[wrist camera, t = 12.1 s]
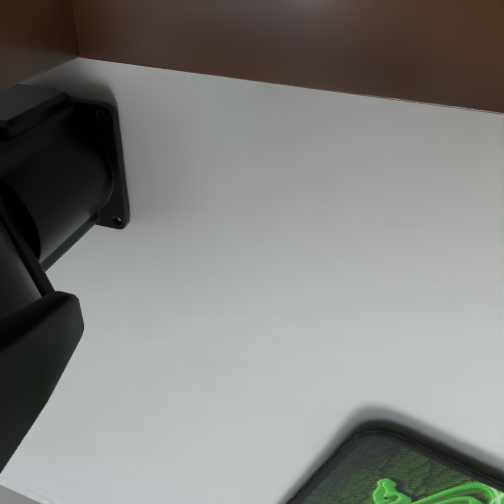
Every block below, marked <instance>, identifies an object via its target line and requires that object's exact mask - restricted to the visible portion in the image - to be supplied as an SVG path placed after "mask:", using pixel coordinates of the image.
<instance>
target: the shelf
mask: <svg viewBox="0 0 504 504" xmlns="http://www.w3.org/2000/svg"><path fill="white" fill-rule="evenodd" d="M78 57H81V58H87V59H95V60H102V61H110V62H117V63H124V64H132V65H139V66H147V67H154V68H162V69H169V70H176V71H184V72H191V73H199V74H206V75H214V76H221V77H228V78H236V79H243V80H251V81H258V82H266V83H273V84H281V85H288V86H295V87H303V88H310V89H318V90H325V91H333V92H340V93H347V94H355V95H362V96H370V97H377V98H385V99H392V100H399V101H407V102H414V103H422V104H429V105H437V106H444V107H451V108H459V109H466V110H474V111H481V112H489V113H496V114H503V115H504V0H0V91H1V90H3V89H6V88H8V87H10V86H13V85H15V84H17V83H20V82H22V81H24V80H27V79H29V78H31V77H34V76H36V75H38V74H41V73H43V72H45V71H48V70H50V69H52V68H55V67H57V66H59V65H62V64H64V63H66V62H69V61H71V60H73V59H76V58H78Z"/></svg>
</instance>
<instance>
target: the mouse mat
mask: <svg viewBox="0 0 504 504" xmlns="http://www.w3.org/2000/svg"><path fill="white" fill-rule="evenodd" d="M289 504H504V483H502V482H500V481H498V480H496V479H493V478H491V477H489V476H487V475H485V474H483V473H481V472H478V471H476V470H473V469H472V468H470V467H467V466H465V465H463V464H461V463H458V462H456V461H454V460H452V459H450V458H448V457H445V456H443V455H441V454H439V453H437V452H435V451H433V450H430V449H428V448H426V447H424V446H421V445H419V444H417V443H415V442H413V441H411V440H409V439H406V438H404V437H402V436H399V435H397V434H395V433H392V432H388V431H383V430H371V431H366V432H362V433H359V434H357V435H355V436H353V437H352V438H351V439H350V440H348V441H347V442H346V443H345V444H344V445H343V446H342V447H341V449H340V450H339V451H338V452H337V453H336V455H335V456H334V457H333V458H332V459H330V461H328V462H327V463H326V465H325V466H324V467H323V468H322V469H321V470H320V471H319V472H318V473H317V474H316V475H315V476H314V477H313V478H312V480H311V481H310V482H309V483H308V484H307V485H306V486H305V488H304V489H303V490H302V491H301V492H300V493H299V494H298V495H297V497H295V498H294V499H293V501H291V502H290V503H289Z"/></svg>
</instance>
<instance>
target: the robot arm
mask: <svg viewBox="0 0 504 504" xmlns="http://www.w3.org/2000/svg"><path fill="white" fill-rule="evenodd" d="M102 111H104V112H105V113H106V114H107V116H108V119H107V118H105V117H104V116H103V114H102ZM117 217H118V218H120V219H121V221H119V220H118V219H117ZM129 221H130V218H129V209H128V201H127V192H126V184H125V176H124V167H123V159H122V150H121V142H120V134H119V125H118V117H117V112H116V110H115V108H114V107H113V106H112V105H111V104H109V103H106V102H100V101H93V100H87V99H80V98H74V97H70V95H69V94H68V93H66V92H65V91H62V90H55V89H48V88H42V87H35V86H28V85H22V84H16V85H14V86H11V87H9V88H6V89H3V90H1V91H0V473H1V472H2V470H3V469H4V467H5V466H6V464H7V463H8V461H9V460H10V458H11V457H12V455H13V454H14V452H15V451H16V449H17V448H18V446H19V445H20V443H21V442H22V440H23V438H24V437H25V435H26V434H27V432H28V431H29V429H30V428H31V426H32V425H33V423H34V422H35V420H36V419H37V417H38V416H39V414H40V413H41V411H42V410H43V408H44V406H45V405H46V403H47V402H48V400H49V398H50V396H51V394H52V393H53V391H54V389H55V387H56V385H57V383H58V381H59V379H60V377H61V375H62V374H63V372H64V370H65V368H66V366H67V364H68V362H69V360H70V358H71V356H72V354H73V352H74V350H75V349H76V347H77V345H78V343H79V341H80V339H81V337H82V334H83V331H84V322H83V317H82V312H81V308H80V303H79V299H78V298H77V297H76V295H74V294H70V293H65V292H61V291H55V290H54V288H53V287H52V285H51V283H50V281H49V279H48V277H47V275H46V274H45V272H46V271H47V270H48V269H49V268H50V267H51V266H52V265H53V264H54V263H55V262H56V261H57V260H58V259H59V258H60V257H61V256H62V255H63V254H64V253H65V252H67V251H68V250H69V249H70V248H71V247H72V246H73V245H74V244H75V243H76V242H77V241H78V240H79V239H80V238H81V237H82V236H83V235H84V234H85V233H86V232H87V231H88V230H89V229H90V228H91V227H93V226H94V225H95V224H96V225H100V226H105V227H110V228H115V229H123V228H125V227H126V226H127V224H128V223H129Z"/></svg>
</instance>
